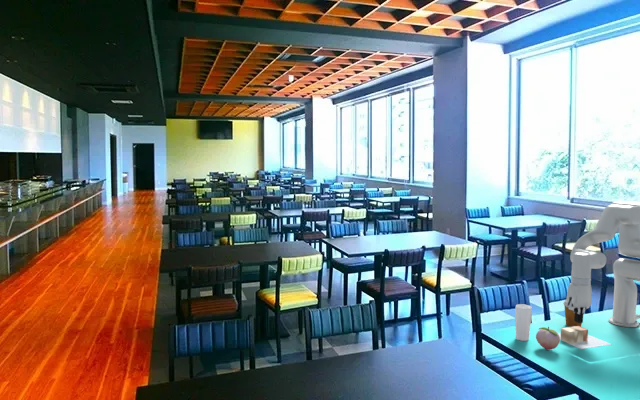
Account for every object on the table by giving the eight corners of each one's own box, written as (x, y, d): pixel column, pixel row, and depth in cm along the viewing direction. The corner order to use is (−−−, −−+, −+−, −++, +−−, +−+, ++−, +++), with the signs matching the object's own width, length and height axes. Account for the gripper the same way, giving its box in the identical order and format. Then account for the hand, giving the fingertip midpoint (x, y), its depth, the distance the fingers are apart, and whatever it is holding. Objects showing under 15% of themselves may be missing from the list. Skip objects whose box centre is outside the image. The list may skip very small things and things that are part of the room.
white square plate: (577, 331, 233) (577, 330, 233) (611, 345, 216) (611, 344, 216) (548, 335, 228) (548, 334, 227) (580, 350, 211) (580, 349, 211)
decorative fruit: (564, 351, 210) (565, 327, 209) (552, 355, 205) (554, 331, 204) (543, 344, 217) (544, 321, 216) (531, 348, 213) (532, 325, 212)
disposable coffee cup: (588, 330, 235) (590, 305, 234) (568, 329, 235) (569, 304, 234) (578, 323, 244) (579, 299, 243) (558, 323, 245) (559, 298, 243)
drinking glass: (532, 339, 223) (534, 306, 222) (527, 343, 218) (528, 309, 217) (517, 335, 228) (519, 303, 226) (511, 339, 223) (512, 306, 221)
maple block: (578, 325, 224) (561, 328, 221) (588, 329, 220) (570, 332, 216) (578, 336, 225) (560, 339, 222) (587, 340, 220) (569, 343, 217)
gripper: (586, 277, 225) (584, 317, 227) (560, 280, 220) (558, 321, 222) (601, 281, 218) (598, 323, 220) (574, 284, 213) (571, 326, 215)
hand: (578, 321), depth 221 cm, fingers closed
